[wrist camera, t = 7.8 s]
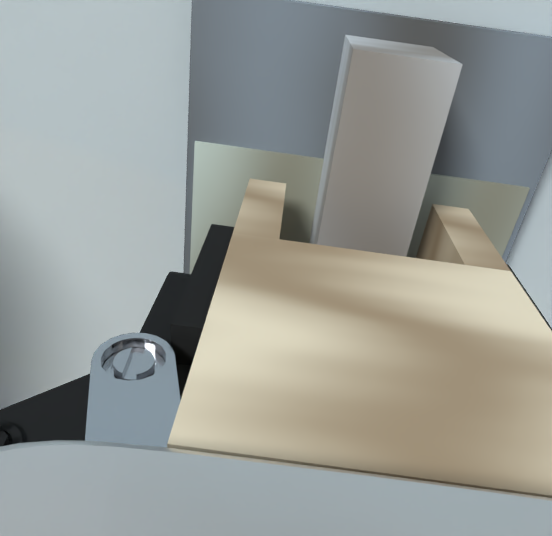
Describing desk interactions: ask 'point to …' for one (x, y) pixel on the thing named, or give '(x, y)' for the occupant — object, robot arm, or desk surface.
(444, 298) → the block
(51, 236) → the desk surface
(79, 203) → the desk surface
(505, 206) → the rail fixture
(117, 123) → the desk surface
